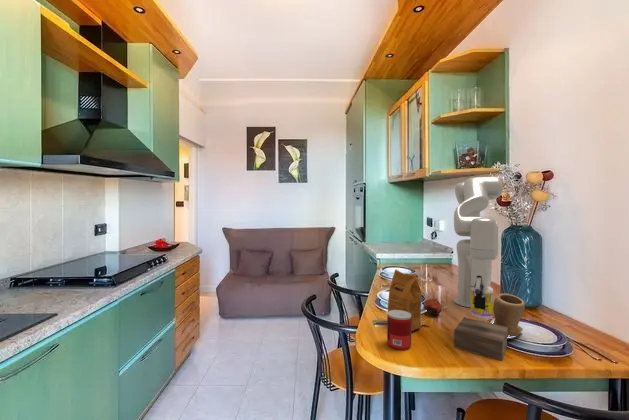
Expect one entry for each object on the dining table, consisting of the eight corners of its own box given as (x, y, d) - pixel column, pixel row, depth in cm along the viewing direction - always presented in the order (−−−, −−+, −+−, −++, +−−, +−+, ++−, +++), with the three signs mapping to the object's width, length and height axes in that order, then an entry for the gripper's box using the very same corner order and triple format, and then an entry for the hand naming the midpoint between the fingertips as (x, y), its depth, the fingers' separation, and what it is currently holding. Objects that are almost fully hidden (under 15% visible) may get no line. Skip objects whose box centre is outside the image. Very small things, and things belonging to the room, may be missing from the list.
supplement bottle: (468, 315, 101) (468, 278, 100) (473, 310, 106) (474, 275, 105) (490, 321, 96) (490, 282, 96) (494, 315, 101) (495, 278, 101)
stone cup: (517, 346, 101) (518, 303, 100) (480, 334, 110) (481, 294, 110) (532, 334, 110) (533, 295, 109) (497, 324, 119) (497, 287, 119)
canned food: (415, 348, 99) (416, 316, 98) (394, 352, 96) (395, 319, 96) (402, 338, 106) (403, 308, 106) (383, 341, 104) (383, 310, 103)
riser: (463, 332, 111) (464, 317, 111) (507, 344, 102) (508, 327, 102) (454, 346, 100) (454, 329, 100) (502, 360, 91) (502, 341, 91)
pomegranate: (438, 324, 124) (449, 306, 129) (430, 312, 123) (441, 294, 127) (424, 320, 131) (434, 303, 135) (416, 308, 129) (427, 292, 133)
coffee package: (401, 318, 125) (401, 267, 124) (424, 329, 114) (425, 273, 113) (383, 323, 120) (383, 269, 119) (406, 335, 109) (406, 276, 108)
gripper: (475, 249, 110) (474, 297, 110) (464, 256, 96) (463, 309, 96) (499, 252, 105) (498, 301, 105) (490, 258, 91) (490, 315, 92)
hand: (481, 305), depth 101 cm, fingers closed on supplement bottle, 6 cm apart
